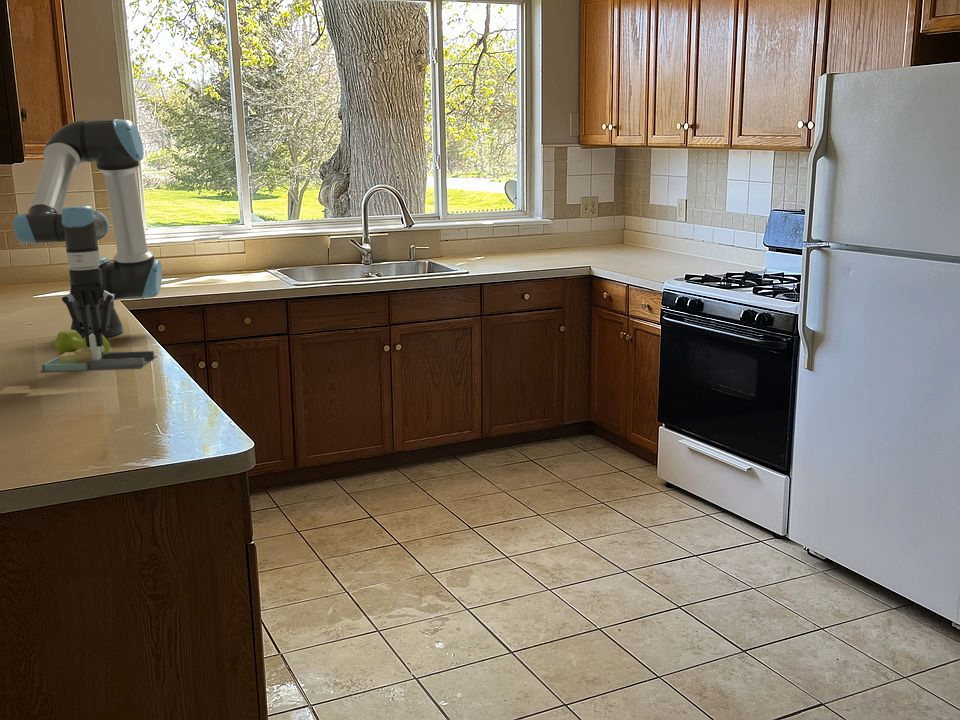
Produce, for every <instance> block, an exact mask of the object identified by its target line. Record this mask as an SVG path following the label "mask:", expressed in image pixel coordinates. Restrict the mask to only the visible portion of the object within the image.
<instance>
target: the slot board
mask: <svg viewBox="0 0 960 720" xmlns="http://www.w3.org/2000/svg"><path fill="white" fill-rule="evenodd" d="M101 356H102V358H100V359H96V360H88V361H87V362H88V366H87V369H86V370H84V371H85V372H87V371H88V372H91V371H92V372H93V371H117V370H138V369H139V370H141V369H142V368H143V367H145V366H146V365H148V364H149V363H151V362H152V361H154V360H155V359H156V358H157V357H159V356H158V355H157V356H155V351H154V350H144V351H143V350H142V351H117V352H116V351H115V352H108V353H101Z"/></svg>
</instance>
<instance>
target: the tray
mask: <svg viewBox="0 0 960 720" xmlns="http://www.w3.org/2000/svg"><path fill="white" fill-rule="evenodd" d="M41 367H42V368H41V369H42V372H52V371H53V372H55V371H57V372H58V371H59V372H60V371H83V370H84V371H85V370H86V369H88V366H87V363H74V364H60V360H59V355H57V357H55V358H53V359H51V360H49V361H47V362H45V363H43V364H41Z"/></svg>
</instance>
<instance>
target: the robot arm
mask: <svg viewBox="0 0 960 720" xmlns="http://www.w3.org/2000/svg"><path fill="white" fill-rule="evenodd" d="M42 154H43V155H42V156H43V161H44V163H43V166H42V169H41V172H40V175H39V178H38V181H37V185H36V186H35V187H36V188H35V191H34V194H33V197H32V201H31V203H30V207H29V209H28V212H27V213H22V214H16V215H15V217H14V219H13V222H12V223H13V226H12V227H13V228H12V229H13V231H14V232H13V233H14V236H15V238H16V240H17V241H18V242H19V243H21V244H34V245H35V244H44V243H45V244H47V243H64V244H65V248H66V249H65V250H66V260H67V266H68V274H69V275H68V276H69V278H68V280H69V286H70V290H69V293H67V295H64V296H62V297H61V301H62V302H63V303H64V304H65V305H66V308H67V310H68V312H69V315H70V318H71V325H70V329H69V330H76V331H77V332H78V333H79V334H80V335H81V337H82V338H83V339H84V338H86V345H87V347H90V349H91V357H92V360H96V359H100V358H102V356H101V349H100V346H102V345H103V337H102V335H103V336H104V337H105V338H109V337H114V336H117V335H120V334H123V333H124V325H123V323H122V321H121V318H120V316H119V314H118V312H117V310H116V307H115V302H114V300H115V301H117V300H118V301H119V300H121V301H122V300H135V299H136V300H137V299H142V300H145V299H150V298H155V297H157V296H158V295H159V294H160V291H161V288H162V278H163V276H162V275H163V274H162V273H163V272H162V270H163V269H162V263H161V261H160V259H156V258H155V257H154V253H153V252H152V251H151V250H150V249H148V247H147V246H148V245H147V239H146V234H145V233H146V232H145V227H144V220H143V214H142V209H141V202H140V196H139V190H138V184H137V177H136V170H137V169H138V168H139V167H140V163H139V162H141V161H142V160H143V159H144V146H143V141H142V137H141V134H140V132H139V130H138V128H137V126H136V124H135V123H134V122H132V121H131V120H130V119H117V118H115V119H114V118H112V119H97V120H95V119H94V120H93V119H92V120H75V121H71V122H70V123H68V124H65V125H63V126H62V127H60V128H59V129H58V130H57V131H55V132H54V133H53V135H52V136H51V137H50V138H49V139H48V141H47V142H46V144H45V147H44V149H43V152H42ZM82 163H96V169H97V170H98V171H99V172H100V173H102V174H103V177H104V182H105V188H106V189H105V190H106V195H107V200H108V204H109V211H110V217H111V222H112V228H113V234H114V240H115V245H116V251H117V252H116V253H115V255H113V257H112V260H113V261H110V259H109V258H108V257H107V256H104V257H100V251H99V245H98V241H99V240H102V239H103V238H105V236H107V234H108V232H109V230H110V221H109V219H108V217H107V216H106V215H105V213H103V212H101V211H99V210H98V211H97V210H94V209H93V207H92V206H91V205H75V206H74V205H73V206H65V207H63V206H64V202H65V200H66V196H67V193H68V190H69V186H70V183H71V180H72V177H73V173H74V171H75V170H77V168H79V166H80V164H82Z"/></svg>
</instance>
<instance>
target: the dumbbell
mask: <svg viewBox="0 0 960 720" xmlns="http://www.w3.org/2000/svg"><path fill="white" fill-rule="evenodd" d="M102 337H103V345H102V346H100V349H101V353H109V351H110V348H111V347H110V346H111V345H110V343H109V341H108V340H107V339H106V338H107V337H104V336H103V335H102ZM53 345H54V348H55V349H56V351H57V352H58V353H59V354H63V353H65V352H74V351H76V350H78V349H80V348H90V347H87V345H86V338H84V339H83V338H82V337H81V335H80V334H79V333H78V332H77V331H76V330H70V329H66V330H62V331H60V332H58V333H57V336H56V337H55V341H54V344H53Z"/></svg>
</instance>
